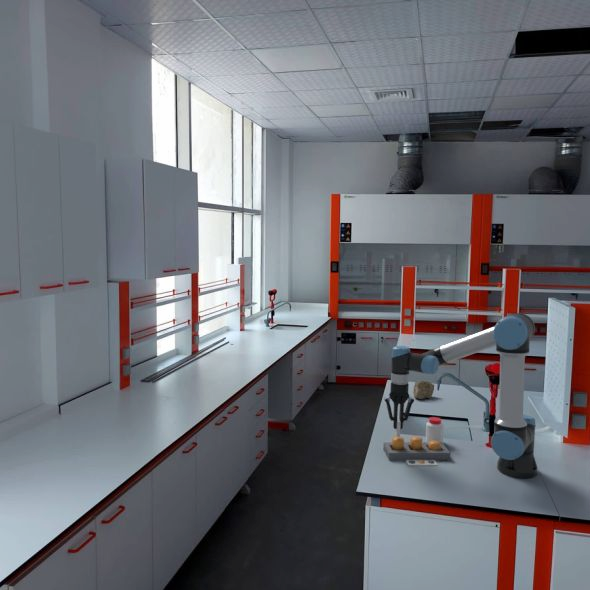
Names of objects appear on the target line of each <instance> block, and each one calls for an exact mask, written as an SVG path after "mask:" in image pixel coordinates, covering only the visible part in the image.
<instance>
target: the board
mask: <svg viewBox="0 0 590 590" xmlns="http://www.w3.org/2000/svg"><path fill="white" fill-rule="evenodd" d="M440 443H441V445H440V450H429V449H428V447H429V442H426V441H425V442H424V441H422V450H411V449H410V441H408V442H404V450H393V449H392V441H391V442H389V441H387V442H383V451H384V454H385V455H386V458H387V459H388V461H406V460H435V461H437V460H439V461H441V460H442V461H444V460H445V461H446V460H447V461H450V460H451V452H450V450H449V449H448V448H447V447H446V446H445V444H444V442H443V443H442V442H440Z"/></svg>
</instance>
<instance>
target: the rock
mask: <svg viewBox="0 0 590 590" xmlns="http://www.w3.org/2000/svg"><path fill="white" fill-rule="evenodd" d="M434 390H435V384H434V383H432V382H430V381H424V380H422V381H415V383H414V385H413V392H412V393H413V397H414V398H416V399H418V400H422V399H426V398H427V399H429V398H430V399H431V398H432V396H433V394H434Z"/></svg>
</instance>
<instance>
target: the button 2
mask: <svg viewBox="0 0 590 590" xmlns="http://www.w3.org/2000/svg"><path fill="white" fill-rule="evenodd" d="M440 445H441V443H440V442H438V441H429V447H428V449H429V450H440Z"/></svg>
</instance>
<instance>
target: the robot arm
mask: <svg viewBox="0 0 590 590" xmlns="http://www.w3.org/2000/svg"><path fill="white" fill-rule="evenodd" d="M535 331H536V326H535V322H534V320H533V319H532V318H531V317H530V316H529V315H527V314H525V313H521V312H516V313H512V314H510V315H507V316H504V317H502V318H501V319H499V320H498V322H496V324H495V325H493V326H492V327H488V328H486V329H484V330H481V331H478V332H476V333H472V334H470V335H468V336H464V337H462V338H459V339H457V340H454V341H452V342H449V343H446V344H444V345H441V346H438V347H436V348H433V349H430V350H428V351H426V352H423V353H416V352H415V353H414V352H411V348H410V347H409V346H405V345H395V346H393V347H392V351H391V365H390V366H391V368H390V390H389V391H390V392H389V393H388V394H389V395H388V396H387V397H383V400H384V402H385V403H386V409H387V413H388V419H389V420H390V421H393V426H392V427H393V429H395V432H394V433H395V434H394V435H395V437H401V430H403V429H404V428H403V427H404V422H405V421H408V419H409V415H410V412H411V408H412V404H413V403H414V402H415V399H414V398H413V397H411V396H410V394H409V388H410V387H409V385H410V384H409V382H410V372H416V373H422V374H426V375H435V374H436V373H437V372H438V369H439V367H440V366H443V365H446V364H448V363H451V362H454V361H456V360H460V359H462V358H465V357H468V356H471V355H473V354H477V353H480V352H483V351H486V350H490V349H491V348H494V347H495V351H496V352H497V354H499V357H500V358H499V395H498V396H499V397H498V401H499V402H498V416H497V417H496V418H495V419H494V427H493V428H494V430H493V432H494V433H493V434H492V436H491V439H490V445H491V448H492V450H493V452H494V453H495V454H496V455H497V456H498V457H499V458H498V460H497V464H496V468H497V471H499V472H500V473H502V474H504V475H506V476H509V477H513V478H518V479H519V478H520V479H530V478H535V477H536V476H537V475H538V465H537V462H536V458H535V455H534V453H535V452H534V451H535V436H536V426H537V425H536V419H535V418H534V417H533V416H531V415H528V414H525V413H524V400H525V399H524V397H525V396H524V394H525V393H524V392H525V364H526V363H525V359H526V356H527V355H529V353H530V345H531V343H530V340H531V339H532V338H533V337H534V335H535ZM391 401H392V403H393V411H392V408H391V403H390V402H391ZM406 402H407V403H406ZM405 403H406V408H405ZM404 408H405V409H404ZM398 411H399V418H398Z"/></svg>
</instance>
